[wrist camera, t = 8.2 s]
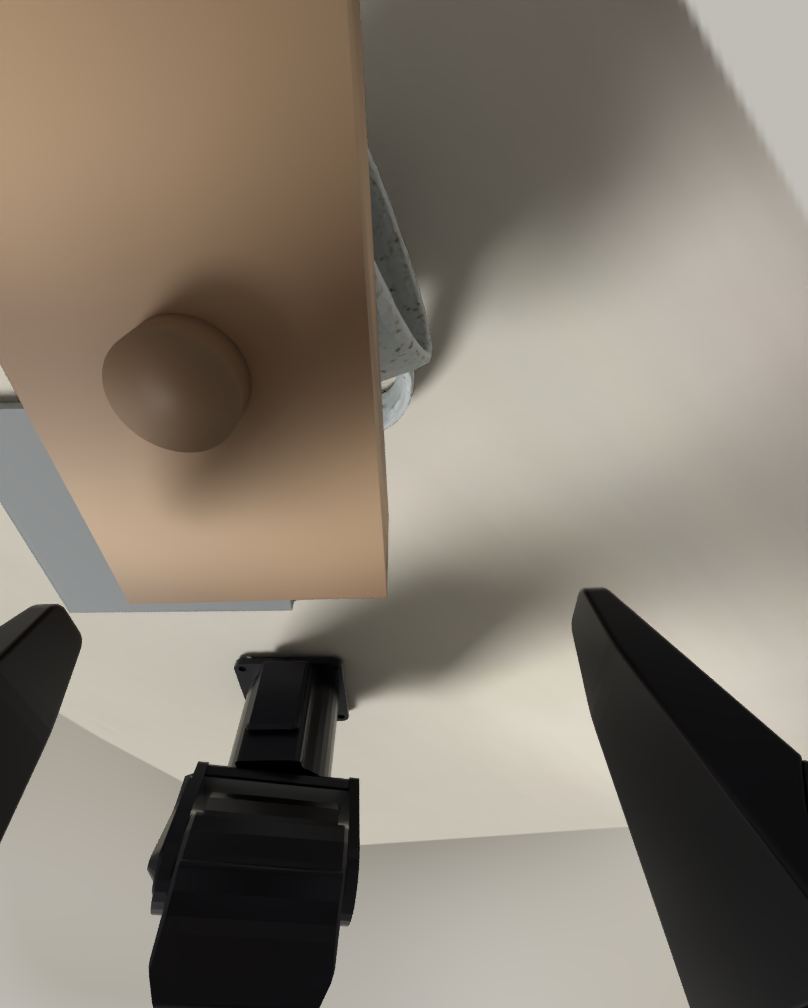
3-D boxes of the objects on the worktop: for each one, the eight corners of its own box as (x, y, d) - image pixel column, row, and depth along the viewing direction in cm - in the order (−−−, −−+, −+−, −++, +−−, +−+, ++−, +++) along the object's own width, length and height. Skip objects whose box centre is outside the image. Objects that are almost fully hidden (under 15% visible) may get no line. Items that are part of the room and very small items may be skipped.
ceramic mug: (104, 193, 16) (-81, 241, 10) (331, 50, 14) (279, -5, 8) (287, 453, 22) (244, 583, 16) (463, 380, 20) (492, 497, 14)
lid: (388, 516, 14) (386, 625, 11) (175, 522, 14) (114, 632, 11) (354, -74, 7) (325, -222, 4) (-55, -59, 7) (-382, -195, 4)
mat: (293, 602, 27) (292, 610, 27) (75, 604, 27) (69, 612, 27) (251, 399, 20) (248, 406, 19) (-47, 403, 20) (-58, 409, 19)
